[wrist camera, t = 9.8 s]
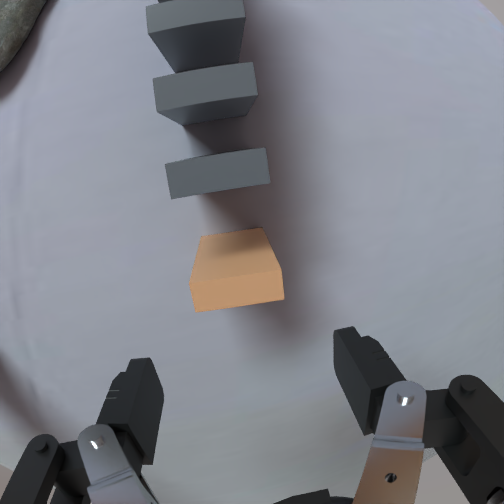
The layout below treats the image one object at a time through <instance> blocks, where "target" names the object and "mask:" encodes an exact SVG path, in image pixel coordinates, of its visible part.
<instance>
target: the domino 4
mask: <svg viewBox="0 0 504 504" xmlns="http://www.w3.org/2000/svg"><path fill="white" fill-rule="evenodd" d="M189 285H190V290H191V294H192V299H193V303H194V307H195V312H203V311H210V310H218V309H225V308H232V307H238V306H245V305H252V304H258V303H265V302H271V301H277V300H283V299H284V290H283V280H282V270H281V268H280V265H279V263H278V261H277V259H276V257H275V254H274V252H273V250H272V248H271V246H270V243H269V241H268V239H267V237H266V235H265V232H264V230H263V228H262V227H261V228H254V229H247V230H241V231H234V232H227V233H221V234H214V235H208V236H201V240H200V243H199V247H198V251H197V254H196V258H195V262H194V266H193V270H192V274H191V278H190V282H189Z"/></svg>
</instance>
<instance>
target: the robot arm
mask: <svg viewBox="0 0 504 504" xmlns="http://www.w3.org/2000/svg"><path fill="white" fill-rule="evenodd" d="M333 339H334V369H335V373H336V376H337V378H338V380H339V383H340V385H341V387H342V389H343V391H344V393H345V395H346V398H347V400H348V402H349V404H350V406H351V408H352V410H353V413H354V415H355V417H356V419H357V421H358V424H359V426H360V428H361V430H362V432H363V434H364V435H368V434H371V433H374V435H375V436H374V438H373V441H372V444H371V448H370V451H369V454H368V458H367V461H366V464H365V467H364V471H363V474H362V477H361V480H360V483H359V486H358V489H357V491H356V494H355V497H354V498H348V497H337V496H334V497H330V495H329V491H328V489H324V490H320V491H315V492H311V493H306V494H301V495H296V496H292V497H289V498H287V499H284V500H281V501H279V502H276V503H273V504H414V502H415V498H416V493H417V488H418V483H419V477H420V472H421V466H422V460H423V453H424V448H434V449H435V451H436V452H437V454H438V455H439V457H440V458H441V460H442V461H443V463H444V464H445V466H446V467H447V469H448V470H449V472H450V473H451V475H452V476H453V478H454V479H455V481H456V483H457V484H458V486H459V487H460V489H461V490H462V492H463V493H464V495H465V496H466V498H467V500H468V501H469V503H470V504H504V402H503V401H502V400H501V399H500V398H499V397H498V396H497V395H496V394H495V393H494V392H493V391H492V390H491V389H490V388H489V387H488V386H487V385H486V384H485V383H484V382H483V381H482V380H481V379H479V378H478V377H475V376H472V375H461V376H458V377H456V378H454V379H453V380H452V381H451V382H450V385H449V388H448V389H440V390H425V389H424V388H423V387H422V386H421V385H419V384H418V383H415V382H412V381H407V380H406V379H405V378H404V376H403V375H402V373H401V372H400V371H399V369H398V368H397V366H396V365H395V364H394V362H393V361H392V360H391V358H389V355H388V354H387V353H386V351H384V349H383V347H382V346H381V345H380V343H379V342H378V341H377V340H375V339H373V338H371V337H370V336H364V337H361V336H360V335H359V333H358V332H357V330H356V329H355V327H353V326H351V327H347V328H342V329H338V330H334V335H333ZM163 403H164V393H163V388H162V385H161V383H160V380H159V378H158V375H157V373H156V370H155V367H154V365H153V362H152V360H151V359H150V358H138V359H131V360H130V362H129V365H128V367H127V370H126V372H120V373H119V374H118V376H117V377H116V378H115V379H114V380H113V381H112V384H111V386H110V389H109V392H108V394H107V396H106V399H105V401H104V404H103V407H102V409H101V412H100V414H99V417H98V420H97V422H96V424H95V425H92V426H89V427H87V428H86V429H84V430H83V431H82V432H81V433H80V435H79V437H78V440H76V441H71V442H66V443H60V444H59V443H58V441H57V440H56V439H55V437H53V436H52V435H49V434H42V435H39V436H36V437H35V438H33V439H32V440H31V441H30V442H29V444H28V445H27V447H26V449H25V451H24V453H23V455H22V457H21V459H20V461H19V462H18V464H17V466H16V468H15V470H14V472H13V475H12V476H11V479H10V481H9V483H8V485H7V487H6V489H5V491H4V493H3V496H2V498H1V500H0V504H47V500H48V498H49V495H50V493H51V490H52V488H53V485H54V486H55V487H56V489H55V492H54V494H53V497H52V499H51V502H50V504H90V503H91V502H92V504H160V503H159V501H158V500H157V498H156V496H155V495H154V493H153V491H152V490H151V488H150V486H149V485H148V483H147V481H146V480H145V478H144V476H143V474H142V473H141V468H142V465H153V460H154V453H155V447H156V442H157V436H158V430H159V424H160V419H161V413H162V408H163Z"/></svg>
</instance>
